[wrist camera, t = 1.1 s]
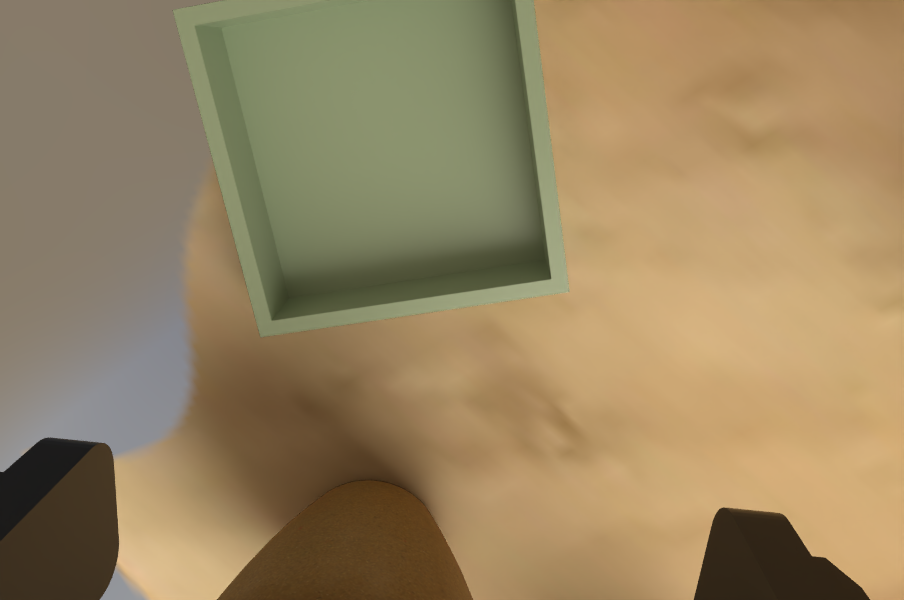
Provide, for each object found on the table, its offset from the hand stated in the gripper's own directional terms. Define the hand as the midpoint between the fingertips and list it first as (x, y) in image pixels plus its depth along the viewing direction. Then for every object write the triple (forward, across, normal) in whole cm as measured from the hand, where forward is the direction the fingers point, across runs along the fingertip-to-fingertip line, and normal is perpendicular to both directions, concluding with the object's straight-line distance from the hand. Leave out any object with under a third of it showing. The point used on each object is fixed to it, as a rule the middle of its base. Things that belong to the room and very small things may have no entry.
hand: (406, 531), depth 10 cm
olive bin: (+26, +3, -2) cm, 27 cm away
